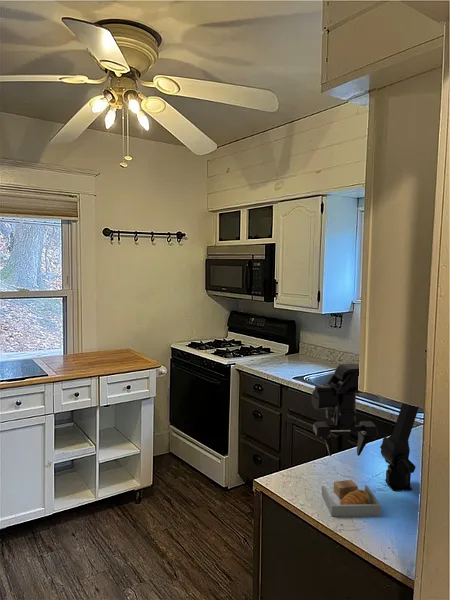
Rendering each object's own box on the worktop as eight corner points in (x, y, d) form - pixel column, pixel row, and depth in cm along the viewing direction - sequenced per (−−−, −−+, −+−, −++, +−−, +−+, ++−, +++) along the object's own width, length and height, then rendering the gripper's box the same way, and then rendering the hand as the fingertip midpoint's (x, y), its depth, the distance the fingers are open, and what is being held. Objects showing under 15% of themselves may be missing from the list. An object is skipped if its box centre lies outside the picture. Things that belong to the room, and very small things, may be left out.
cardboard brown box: (351, 490, 145) (351, 479, 145) (357, 496, 141) (357, 486, 141) (333, 492, 144) (333, 481, 143) (339, 499, 140) (339, 488, 139)
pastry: (352, 516, 131) (352, 503, 130) (334, 505, 136) (334, 493, 136) (373, 506, 136) (373, 494, 136) (355, 496, 141) (355, 484, 141)
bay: (367, 494, 142) (367, 485, 142) (380, 515, 131) (380, 505, 131) (321, 495, 142) (322, 485, 141) (331, 516, 130) (331, 506, 130)
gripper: (367, 397, 149) (365, 444, 150) (309, 398, 148) (308, 444, 150) (379, 409, 138) (377, 459, 139) (318, 410, 137) (316, 460, 139)
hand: (344, 455), depth 142 cm, fingers open, 8 cm apart
